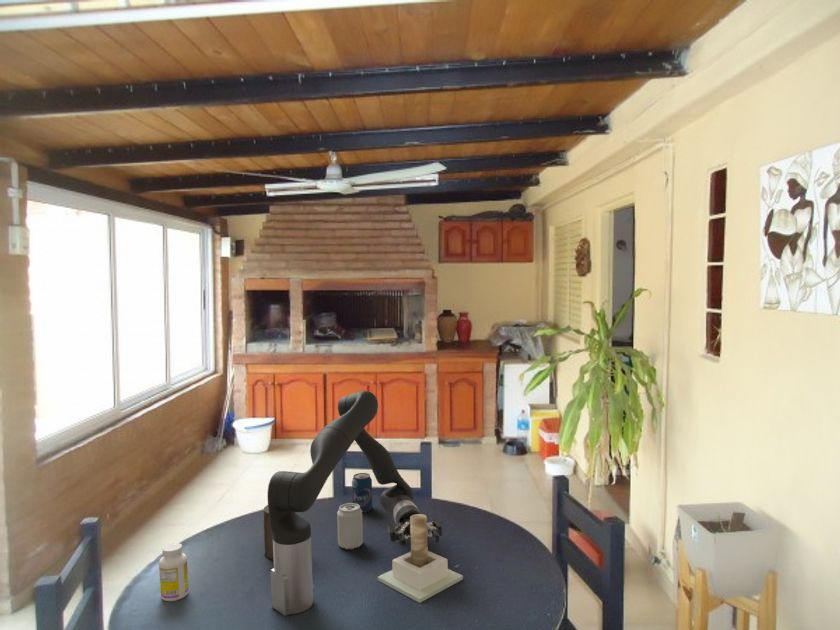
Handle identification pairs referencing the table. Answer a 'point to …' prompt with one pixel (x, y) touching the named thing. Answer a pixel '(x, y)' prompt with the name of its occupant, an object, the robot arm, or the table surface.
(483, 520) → the table surface
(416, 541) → the peg
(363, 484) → the soda can
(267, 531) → the pillar candle
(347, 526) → the can
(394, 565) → the socket
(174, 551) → the supplement bottle
